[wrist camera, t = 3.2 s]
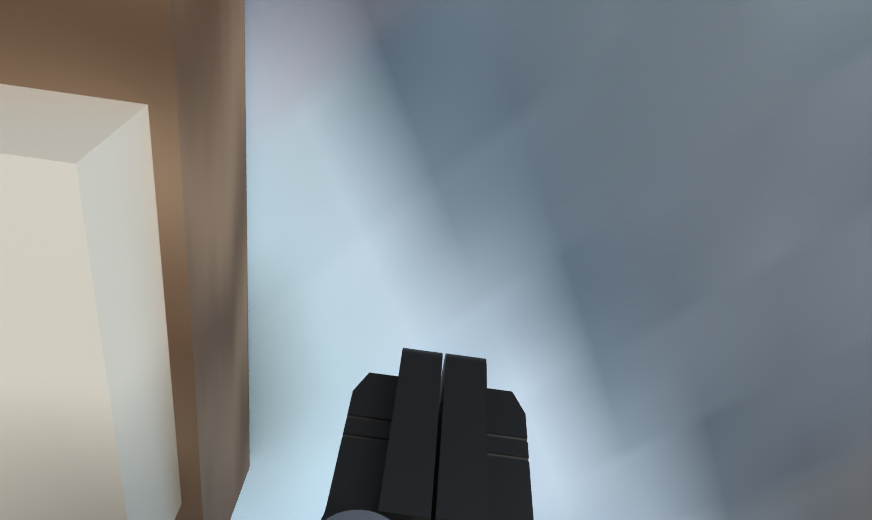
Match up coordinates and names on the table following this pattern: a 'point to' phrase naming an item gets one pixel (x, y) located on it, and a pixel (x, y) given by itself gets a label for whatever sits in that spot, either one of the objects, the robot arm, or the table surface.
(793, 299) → the table surface
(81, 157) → the cream rectangular tile
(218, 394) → the deck
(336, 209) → the table surface
